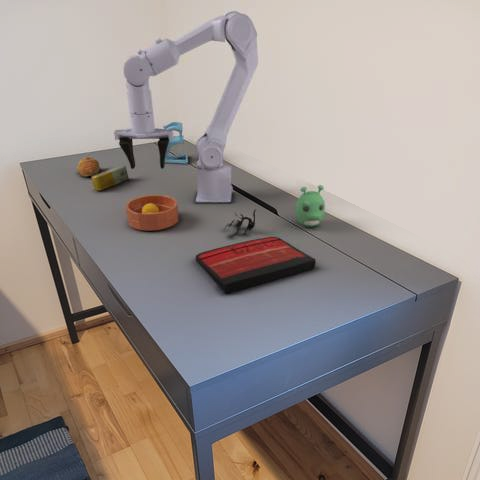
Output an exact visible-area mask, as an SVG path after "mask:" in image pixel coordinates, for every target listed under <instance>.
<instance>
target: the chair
mask: <svg viewBox="0 0 480 480" xmlns="http://www.w3.org/2000/svg"><path fill="white" fill-rule="evenodd" d="M162 129H169V130H173V132H174V131H175V132H178V135H174V138H173V139H170V140H169V143H168V147H167V150H166V155H165V164H167V163H168V164H169V163H171V164H183V165H184V164H185V165H188V164H189V155H188V153H181V154H175V155H169V154H170V151H171V149H172V147H174V146H177V145H184V144H185V137H184V135H183V123H182V122H180V121H171V122H170V123H168V124H166V125H163V126H162ZM182 158H185V159H182Z"/></svg>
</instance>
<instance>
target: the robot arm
mask: <svg viewBox="0 0 480 480" xmlns="http://www.w3.org/2000/svg"><path fill="white" fill-rule="evenodd" d="M257 38H258V31H257V30H256V27H255V25H254V23H253V21H252V19H251V18H250V17H249V15H248V14H245V13H242V12H239V11H237V10H232V11H229V12H227V13H226V14H225V15H223V14H222V15H219V16H215V17H214V18H212V19H208V20H207V21H205V22H204V23H202V24H201V25H199V26H197V27H195V28H193V29H192V30H191V31H188V32H186V33H185V34H183V35H182V36H180V37H179V38H177V39H175V40H171V39H169V38H166V37H165V38H163V39H161V37H158V38H157V39H155V43H154V44H152V45H150V46H148V47H147V48H145V49H143V50H142V49H138V50H137V51H136V53H137V55H136V54H134V55H133V54H132V55H130V56H129V57H127V58H126V60H125V61H124V64H123V76H124V78H125V79H126V83H125V86H126V90H127V91H126V97H127V98H126V99H127V105H128V111H129V112H128V113H129V121H130V126H131V128H125V129H124V128H123V129H115V130H114V131H113V136H114V141H115V140H116V141H119V142H118V145H119V147H120V149H121V150H122V151H123V153H124V154H125V157H126V158H127V160H128V163H129V166H130V169H132V170H134V169H135V167H136V160H135V155H134V145H133V142H134V141H133V140H157V148H158V153H159V164H160V165H159V166H160V169H161V170H164V168H165V165H166V162H165V155H166V150H167V147H168V143H169V140H170V139H173V138H174V136H175V135H174V130H169V129H164V128H157V127H156V126H155V115H154V107H153V99H152V90H151V89H150V82H149V80H150V77H156V76H158V75H160V74H161V73H164V72H165V71H168V70H169V69H171V68H173V67H174V66H177V65H178V63H179V60H180V57H181V56H182V55H184V54H186V53H188V52H190V51H192V50H194V49H196V48H199V47H200V46H203V45H204V44H207V43H209V42H213V41H214V42H220V43H226V42H227V44H228V45H229V46H230V48H231V51H232V55H233V57H234V59H235V62H234V63H235V64H234V66H233V68H232V70H231V73H230V76H229V79H228V80H227V82H226V85H225V88H224V90H223V92H222V95H221V97H220V100H219V102H218V104H217V107H216V109H215V111H214V114H213V116H212V119H211V121H210V124H209V125H208V126H207V127H206V128H205V130H204V133H203V134H202V135H201V136H200V137H199V138H197V141H196V143H195V151H196V153H197V155H198V160H197V162H196V178H197V179H196V180H197V181H196V182H197V194H196V198H195V203H231V202H232V195H233V192H234V191H233V189H234V188H233V185H232V165H231V164H225V163H224V155H225V154H224V152H225V149H226V145H227V142H228V141H227V140H228V135H229V132H230V129H231V128H232V125H233V123H234V120H235V118H236V115H237V113H238V111H239V109H240V106H241V104H242V101H243V99H244V98H245V95H246V92H247V90H248V88H249V86H250V83H251V81H252V80H253V77H254V74H255V72H256V70H257V68H258V65H259V53H258V39H257Z"/></svg>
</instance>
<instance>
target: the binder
mask: <svg viewBox="0 0 480 480" xmlns="http://www.w3.org/2000/svg"><path fill="white" fill-rule="evenodd" d="M195 261H196V263H197V265H199V266H200V267H201V268H202V269H203V270H204V272H205V273H206V274H207V275H208V276H209V277H210V278H211V280H212V281H213V282H214V283H215V284H216V285H217V286H218V288H219V289H220V290H221V291H222V293H224V294H229V293H232V292H236V291H239V290H243V289H247V288H250V287H251V288H252V287H254V286H257V285H261V284H265V283H268V282H271V281H274V280H278V279H281V278H285V277H289V276H292V275H296V274H299V273H302V272H306V271H309V270H312V269H315V267H316V261H317V260H316V259H315V258H314V257H312V256H310V255H309V254H306V253H305V252H304V251H301V250H300V249H298V248H297V247H295V246H294V245H292V244H290V243H289V242H286V240H284V239H282V238H280V237H278V236H267V237H261V238H255V239H250V240H246V241H241V242H237V243H233V244H229V245H225V246H221V247H217V248H213V249H210V250H205V251H202V252H200V253H197V254H196V255H195Z"/></svg>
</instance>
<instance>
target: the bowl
mask: <svg viewBox="0 0 480 480" xmlns="http://www.w3.org/2000/svg"><path fill="white" fill-rule="evenodd" d="M148 203H152V204H155V205H156V206H157V207H158V209H159V213H150V214H145V213H142V208H143V207H144V206H145V205H146V204H148ZM178 206H179V204H178V201H177V199H175V198H173V197H172V196H168V195H164V194H146V195H142V196H138V197H135V198H132V199H130V200H129V201H128V202H127V203H126V204H125V213H126V219H127V223H128V225H129V226H130V227H131V228H133V229H136V230H139V231H147V232H149V231H160V230H164V229H168V228H170V227H173V226H174V225H175V224H177V223H178V222H179V218H180V216H179V207H178Z"/></svg>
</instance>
